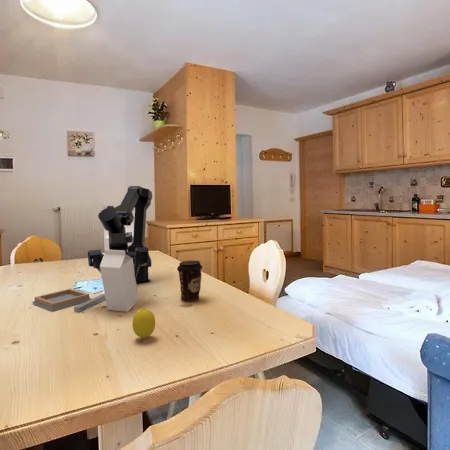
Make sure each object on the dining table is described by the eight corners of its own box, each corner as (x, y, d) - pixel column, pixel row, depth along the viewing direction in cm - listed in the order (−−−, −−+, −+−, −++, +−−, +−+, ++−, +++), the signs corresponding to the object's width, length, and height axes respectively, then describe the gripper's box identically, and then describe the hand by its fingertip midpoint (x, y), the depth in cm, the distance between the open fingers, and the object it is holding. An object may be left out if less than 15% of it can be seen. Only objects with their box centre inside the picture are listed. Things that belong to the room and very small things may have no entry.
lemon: (135, 334, 87) (133, 304, 87) (157, 333, 88) (155, 303, 87) (131, 344, 82) (129, 312, 81) (154, 342, 82) (153, 310, 81)
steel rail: (102, 298, 119) (102, 294, 119) (107, 298, 118) (107, 294, 118) (74, 311, 106) (74, 307, 105) (79, 312, 105) (79, 307, 105)
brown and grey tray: (71, 294, 125) (70, 288, 125) (91, 300, 117) (91, 294, 116) (32, 304, 114) (32, 297, 114) (52, 311, 106) (51, 304, 106)
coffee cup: (207, 297, 118) (206, 260, 117) (197, 304, 110) (196, 265, 109) (184, 295, 121) (183, 259, 119) (173, 302, 113) (172, 264, 112)
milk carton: (127, 312, 104) (118, 255, 98) (107, 310, 106) (97, 254, 100) (138, 300, 111) (130, 246, 105) (119, 298, 113) (110, 245, 107)
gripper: (86, 224, 107) (86, 265, 97) (147, 222, 113) (152, 261, 103) (88, 246, 115) (88, 286, 105) (144, 243, 121) (150, 280, 111)
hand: (120, 278), depth 106 cm, fingers closed on milk carton, 9 cm apart
